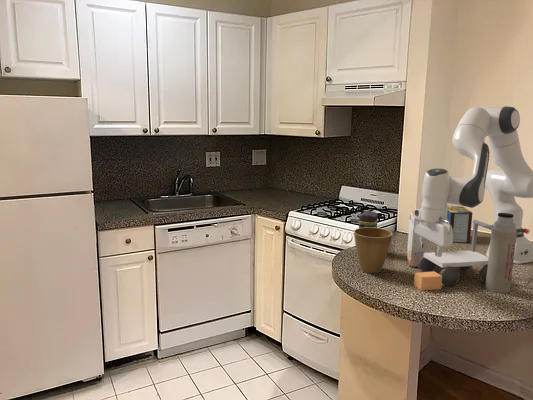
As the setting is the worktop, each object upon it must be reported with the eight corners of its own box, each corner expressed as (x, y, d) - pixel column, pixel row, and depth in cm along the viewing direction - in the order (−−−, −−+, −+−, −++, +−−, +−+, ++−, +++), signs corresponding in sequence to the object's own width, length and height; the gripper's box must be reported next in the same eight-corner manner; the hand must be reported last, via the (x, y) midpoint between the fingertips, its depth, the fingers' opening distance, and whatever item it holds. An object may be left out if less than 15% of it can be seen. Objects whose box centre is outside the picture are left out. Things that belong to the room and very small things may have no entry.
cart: (470, 268, 187) (475, 218, 184) (498, 282, 171) (504, 228, 167) (417, 271, 183) (421, 220, 179) (441, 287, 166) (446, 231, 162)
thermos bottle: (514, 291, 163) (524, 215, 158) (499, 294, 160) (507, 217, 155) (495, 283, 170) (504, 210, 165) (480, 286, 167) (488, 212, 162)
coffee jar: (360, 247, 214) (362, 209, 211) (377, 250, 211) (379, 211, 207) (355, 253, 206) (357, 213, 202) (372, 255, 202) (374, 215, 199)
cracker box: (424, 268, 187) (428, 218, 183) (409, 267, 188) (413, 217, 184) (420, 258, 200) (424, 211, 196) (406, 257, 201) (409, 210, 197)
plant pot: (349, 263, 191) (351, 226, 188) (385, 264, 191) (387, 227, 188) (355, 276, 177) (357, 236, 174) (393, 277, 176) (396, 237, 173)
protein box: (460, 235, 239) (463, 206, 237) (470, 243, 224) (473, 212, 222) (440, 234, 241) (442, 205, 238) (448, 242, 226) (450, 211, 223)
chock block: (433, 284, 170) (434, 271, 169) (441, 289, 165) (442, 276, 164) (413, 285, 168) (414, 272, 167) (420, 290, 163) (421, 277, 162)
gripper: (459, 221, 152) (456, 260, 155) (426, 208, 172) (424, 243, 174) (442, 222, 151) (439, 261, 153) (411, 209, 170) (409, 244, 173)
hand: (431, 252), depth 164 cm, fingers open, 8 cm apart
